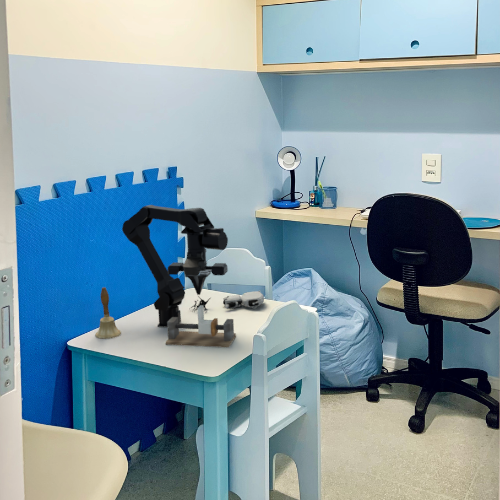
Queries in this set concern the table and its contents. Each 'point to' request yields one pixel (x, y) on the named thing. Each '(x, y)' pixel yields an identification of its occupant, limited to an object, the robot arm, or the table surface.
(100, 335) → the hand bell
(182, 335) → the rail board
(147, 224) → the robot arm
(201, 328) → the white l-bracket
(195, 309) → the creature
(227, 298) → the robot toy
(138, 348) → the table surface
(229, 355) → the table surface
